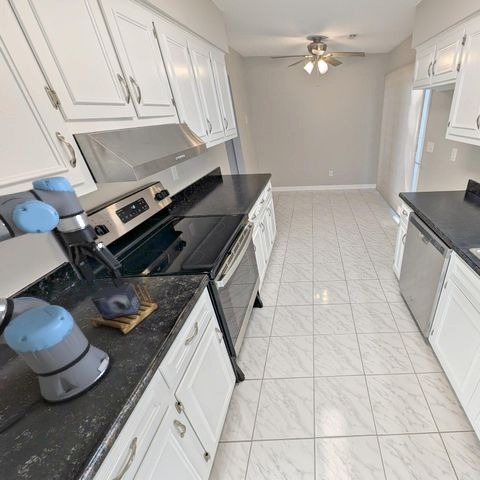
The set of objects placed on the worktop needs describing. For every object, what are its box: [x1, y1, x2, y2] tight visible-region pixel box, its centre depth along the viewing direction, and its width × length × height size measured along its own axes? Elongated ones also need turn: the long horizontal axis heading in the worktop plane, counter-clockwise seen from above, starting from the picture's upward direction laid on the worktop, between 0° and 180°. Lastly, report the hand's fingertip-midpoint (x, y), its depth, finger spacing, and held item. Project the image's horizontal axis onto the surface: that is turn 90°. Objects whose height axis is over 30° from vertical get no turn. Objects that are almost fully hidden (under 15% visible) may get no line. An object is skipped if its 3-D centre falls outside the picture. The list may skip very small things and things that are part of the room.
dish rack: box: [89, 282, 158, 335], centre depth 94 cm, size 14×15×11 cm
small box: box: [91, 282, 142, 320], centre depth 93 cm, size 11×6×10 cm, turn 105°
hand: (106, 282), depth 89 cm, fingers open, 13 cm apart
